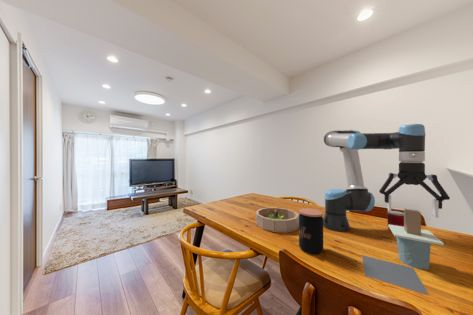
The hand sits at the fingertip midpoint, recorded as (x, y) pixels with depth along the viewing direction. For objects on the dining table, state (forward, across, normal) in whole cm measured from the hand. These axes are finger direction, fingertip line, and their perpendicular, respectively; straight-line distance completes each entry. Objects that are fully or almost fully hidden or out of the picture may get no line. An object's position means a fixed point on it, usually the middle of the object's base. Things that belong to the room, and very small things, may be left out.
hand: (411, 213), depth 70 cm
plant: (+22, -61, +9) cm, 66 cm away
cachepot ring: (+21, -62, +10) cm, 66 cm away
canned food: (+21, +2, +39) cm, 45 cm away
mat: (+20, -9, -14) cm, 26 cm away
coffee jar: (+21, -37, -12) cm, 44 cm away
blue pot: (+21, 0, -1) cm, 21 cm away
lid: (+9, 0, 0) cm, 9 cm away
